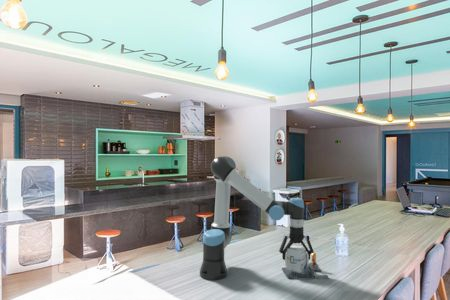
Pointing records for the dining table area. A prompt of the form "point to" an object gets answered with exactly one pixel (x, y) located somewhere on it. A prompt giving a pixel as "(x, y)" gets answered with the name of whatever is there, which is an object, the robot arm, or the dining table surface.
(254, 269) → the dining table surface
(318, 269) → the rails
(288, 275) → the bed
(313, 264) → the lever
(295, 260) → the ink box
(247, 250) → the dining table surface
